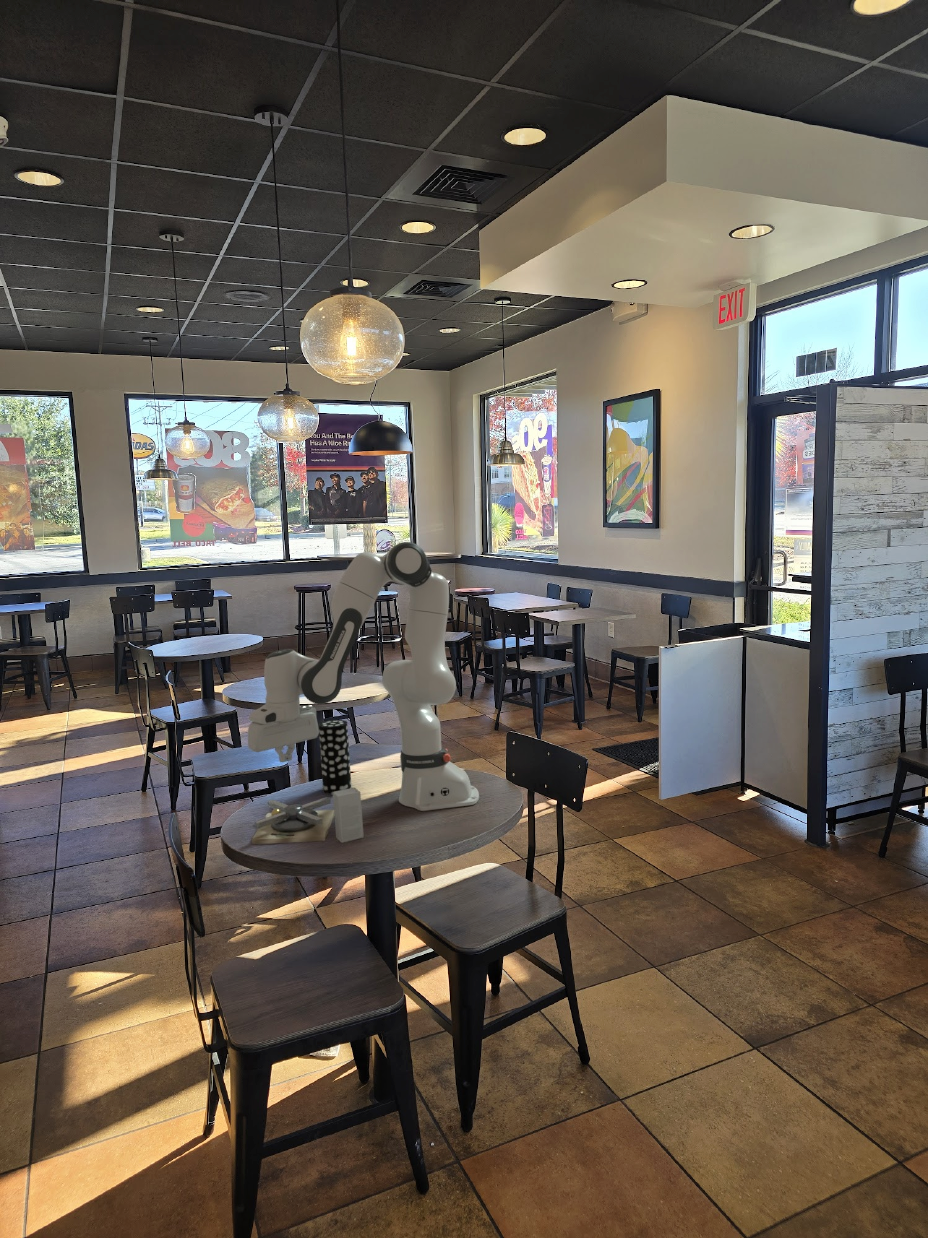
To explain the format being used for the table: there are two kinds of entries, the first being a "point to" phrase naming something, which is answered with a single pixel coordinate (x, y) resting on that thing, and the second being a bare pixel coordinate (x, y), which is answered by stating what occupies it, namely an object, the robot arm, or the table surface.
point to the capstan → (293, 816)
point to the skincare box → (348, 814)
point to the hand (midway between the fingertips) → (285, 761)
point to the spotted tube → (334, 755)
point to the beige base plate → (310, 834)
